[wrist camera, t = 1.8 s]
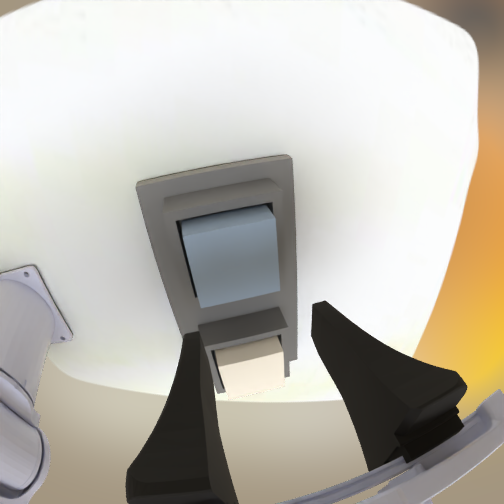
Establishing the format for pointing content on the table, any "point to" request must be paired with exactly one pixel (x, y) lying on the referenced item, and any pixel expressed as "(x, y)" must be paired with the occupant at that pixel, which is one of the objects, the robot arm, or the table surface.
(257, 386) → the white key
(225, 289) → the blue key
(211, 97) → the table surface
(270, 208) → the key board
